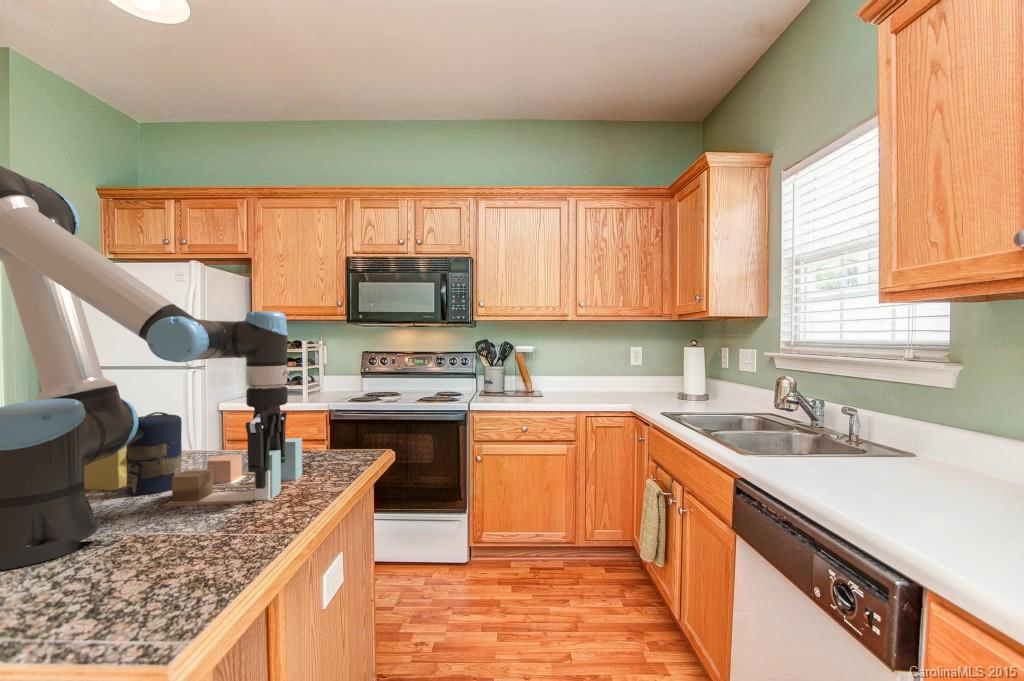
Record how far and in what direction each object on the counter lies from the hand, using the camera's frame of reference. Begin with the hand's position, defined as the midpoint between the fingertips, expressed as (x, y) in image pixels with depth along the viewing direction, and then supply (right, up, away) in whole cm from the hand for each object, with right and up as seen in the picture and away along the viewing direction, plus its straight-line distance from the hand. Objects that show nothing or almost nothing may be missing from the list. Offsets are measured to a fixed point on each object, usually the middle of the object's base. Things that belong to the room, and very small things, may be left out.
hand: (267, 498), depth 95 cm
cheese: (-42, -1, +13) cm, 44 cm away
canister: (-27, -1, +5) cm, 28 cm away
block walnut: (-15, +1, -1) cm, 15 cm away
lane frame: (-11, -1, +5) cm, 12 cm away
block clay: (-16, +1, +11) cm, 19 cm away
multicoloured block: (-8, 0, -1) cm, 8 cm away
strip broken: (-9, 0, +11) cm, 14 cm away
